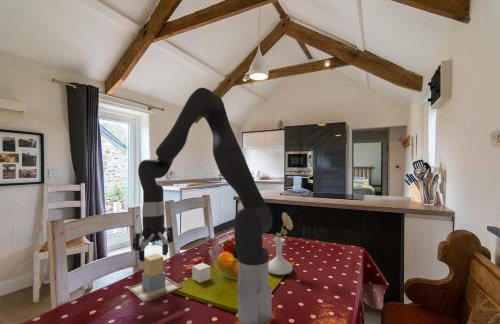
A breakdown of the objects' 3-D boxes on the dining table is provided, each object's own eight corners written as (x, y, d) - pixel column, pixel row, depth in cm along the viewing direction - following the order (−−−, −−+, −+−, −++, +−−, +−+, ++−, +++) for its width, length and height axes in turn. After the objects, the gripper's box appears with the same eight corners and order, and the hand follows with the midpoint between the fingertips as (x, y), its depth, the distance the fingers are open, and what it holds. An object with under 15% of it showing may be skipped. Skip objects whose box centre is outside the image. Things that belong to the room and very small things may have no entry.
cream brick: (210, 281, 99) (210, 266, 99) (199, 285, 95) (199, 269, 96) (202, 277, 103) (202, 262, 103) (192, 281, 99) (192, 266, 99)
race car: (193, 276, 104) (193, 267, 104) (181, 275, 105) (181, 266, 105) (205, 264, 117) (205, 255, 117) (194, 263, 118) (194, 254, 118)
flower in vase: (279, 280, 100) (279, 217, 100) (260, 271, 108) (260, 212, 109) (300, 271, 108) (300, 213, 108) (281, 263, 117) (281, 209, 117)
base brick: (165, 286, 92) (165, 273, 92) (149, 292, 88) (149, 278, 88) (157, 281, 97) (157, 268, 97) (142, 287, 92) (142, 273, 92)
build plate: (182, 290, 92) (182, 286, 92) (144, 305, 82) (144, 301, 82) (163, 278, 102) (163, 275, 102) (127, 291, 91) (127, 287, 91)
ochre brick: (163, 273, 92) (163, 256, 93) (149, 277, 89) (149, 260, 89) (157, 269, 96) (157, 253, 96) (143, 273, 92) (143, 257, 92)
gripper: (138, 217, 85) (138, 266, 85) (176, 212, 95) (176, 255, 95) (129, 215, 90) (129, 260, 90) (166, 209, 100) (166, 250, 100)
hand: (153, 257), depth 92 cm, fingers open, 8 cm apart
